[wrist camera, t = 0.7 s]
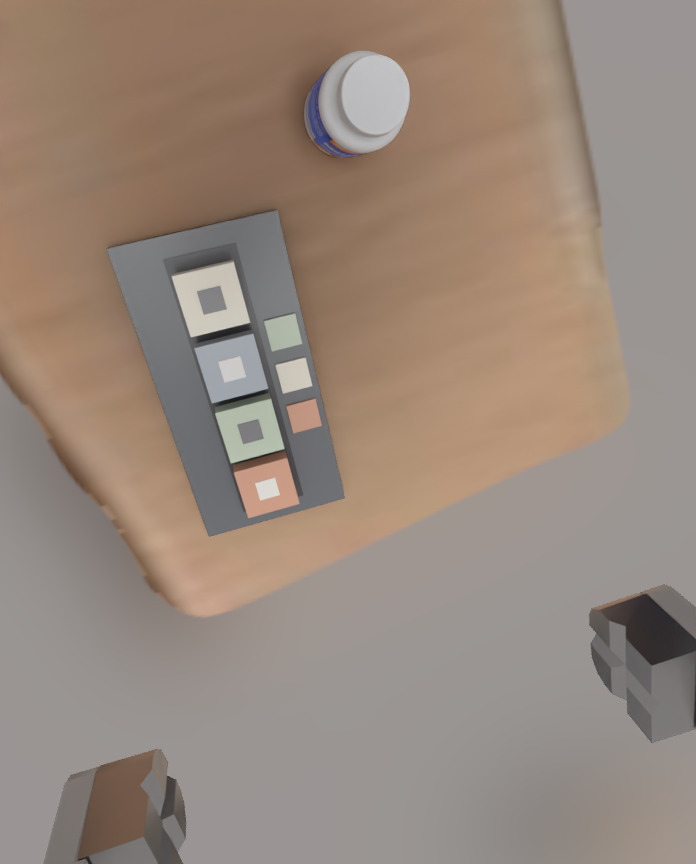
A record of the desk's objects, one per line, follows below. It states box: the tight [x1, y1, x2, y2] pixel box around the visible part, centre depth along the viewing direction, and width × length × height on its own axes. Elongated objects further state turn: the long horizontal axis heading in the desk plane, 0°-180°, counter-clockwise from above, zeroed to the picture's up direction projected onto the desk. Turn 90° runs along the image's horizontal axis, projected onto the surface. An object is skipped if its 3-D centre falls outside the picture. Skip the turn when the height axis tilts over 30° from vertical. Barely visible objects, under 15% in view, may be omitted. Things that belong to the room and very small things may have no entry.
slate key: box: [194, 330, 268, 403], centre depth 43 cm, size 4×4×2 cm
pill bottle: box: [304, 51, 410, 158], centre depth 37 cm, size 5×5×10 cm
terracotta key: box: [233, 451, 300, 518], centre depth 47 cm, size 4×4×2 cm
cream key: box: [172, 260, 250, 337], centre depth 41 cm, size 4×4×2 cm
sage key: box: [215, 393, 285, 463], centre depth 45 cm, size 4×4×2 cm
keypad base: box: [107, 210, 345, 537], centre depth 47 cm, size 24×12×2 cm, turn 12°
